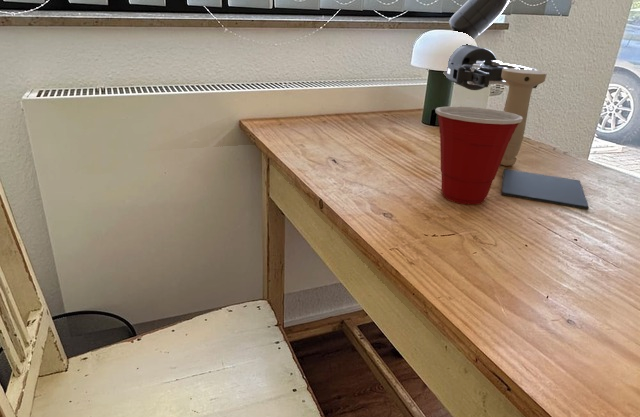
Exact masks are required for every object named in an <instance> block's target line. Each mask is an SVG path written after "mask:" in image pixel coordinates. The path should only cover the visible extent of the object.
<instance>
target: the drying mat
mask: <svg viewBox="0 0 640 417" xmlns="http://www.w3.org/2000/svg"><path fill="white" fill-rule="evenodd" d="M501 196H507V197H512V198H519V199H523V200H524V199H525V200H530V201H536V202H542V203H547V204H555V205H560V206H566V207H571V208H578V209H583V210H589V203H588V200H587V197H586V194H585V192H584V190H583V186H582V183H581V180H580V179H574V178H567V177H561V176H554V175H547V174H541V173H534V172H528V171H522V170H514V169H509V168H503V174H502V186H501Z"/></svg>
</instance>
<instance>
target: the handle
mask: <svg viewBox="0 0 640 417" xmlns="http://www.w3.org/2000/svg"><path fill="white" fill-rule="evenodd" d="M536 70H537V69H535V70H528V69H513V68H504V69H502V74H501V77H502V79H503V80H502V81H506V82H507V83H508V84H509V86H508V90H507V91H508V92H507V95H506V98H505V103H504V106H503V107H504V108H503V111H504V112H509V113H513V114H517V115H519V116H522V118H523V119H522V121H521V122H520V123H519V124H518V125H517V128H516V129H515V131H514V133H513V135H512V137H511V140H510V142H509V143H508V146H507V148H506V151H505V153H504V156H503V158H502V161H501V163H500V166H504V167H509V166H514V165H515V164H516V163H517V157H516V156H518V155H519V153H520V150H521V147H522V143H523V140H524V135H525V131H526V127H527V126H526V125H527V119H528V114H529V107H530V101H531V96H532V92H533V89H534V88H533V87H534V86H536V85H538V86H539V85H541V84H543V83H544V82H546V78H547V74H548V73H547V72H546V71H542V70H537V71H536Z"/></svg>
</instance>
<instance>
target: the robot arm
mask: <svg viewBox="0 0 640 417" xmlns="http://www.w3.org/2000/svg"><path fill="white" fill-rule="evenodd" d="M509 2H510V0H467V1H466V2H464V4H463V5H462V6H461V7H460V8H458V10H457V11H455V13H454V14H453V15H451V17H450V18H449V20H448V25H449V27H450V29H451V31H452V32H453V31H458V32H463V33H466V34H468V35H469V36H471V37H472V38H473V39H474V42H475V40H477V38H478V37H480V35H482V34H483V33H484V32H485V31H486V30H487V29H489V27H490V26H491V25H493V23H494V22H495V21H497V19H498V18H499V17H500V15H501V14H502V13H503V12H504V10H506V7H507V6H508V5H509ZM429 31H430V30H429ZM429 31H426V32H424V33H421V34H420V35H419V36H418V37H417V38H416V39H415V40H414V43H413V45H412V49H413V48H414V45H415V43H416V41H417V40H418V39H419V38H420V37H421V36H422V35H423V34H425V33H427V32H429ZM504 68H513V69H528V70H536V71H538V70H537V69H536V68H532V67H527V66H523V65H520V64H510V63H503V62H502V61H500V60H498V59H497V57H496V55H495V54H494V52H492V51H491V50H490V49H488V48H484V47H481V46H477V45H473V44H471V45H468V44H466V45H462V46H460V47H459V48H457V49H456V50H455V51H454V52H453V54H452V55H451V56H450V58H449V61H448V67H447V71H444V72H443V74H444V75H445V76H446V79H448V80H449V81H450V82H452V83H454V84H456V85H458V86H460V87H462V88H465V89H467V90H470V91H480V90H483V89H485V88H489V85H493V86H494V85H502V86H508V87H509V84H508V83H507V82H506V81H504V80H503V79H502V77H501V74H502V69H504ZM425 70H426V71H427V72H428V73H429V70H428V69H425ZM538 86H539V85H536V86H534V87H533V89H536V88H538Z"/></svg>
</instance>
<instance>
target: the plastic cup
mask: <svg viewBox="0 0 640 417" xmlns="http://www.w3.org/2000/svg"><path fill="white" fill-rule="evenodd" d="M434 111H435V114H437V115H436V116H437V119H438V125H439V128H438V129H439V138H440V139H439V141H440V142H439V144H440V147H439V148H440V172H441V194H442V196H443V197H444V198H445V199H446V200H448V201H449V202H453V203H456V204H462V205H470V206H471V205H473V206H475V205H481V204H482V203H484V202H485V201H486V198H487V197H488V194H489V192H490V190H491V187H492V185H493V182H494V180H495V178H496V177H497V173H498V171H499V168H500V166H501V165H500V163H501V161H502V158H503V156H504V153H505V151H506V148H507V146H508V143H509V142H510V140H511V137H512V135H513V133H514V131H515V129H516V128H517V125H518V124H519V123H520V122H521V121H522V119H523V118H522V116H519V115H517V114H513V113H509V112H504V110H497V109H491V108H482V107H473V106H440V107H438V106H437V107H436V108H435V110H434Z"/></svg>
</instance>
